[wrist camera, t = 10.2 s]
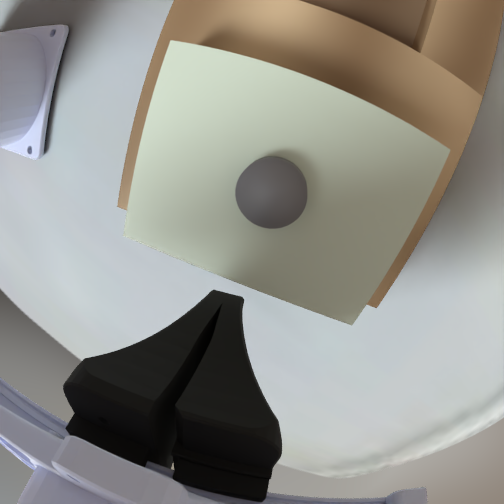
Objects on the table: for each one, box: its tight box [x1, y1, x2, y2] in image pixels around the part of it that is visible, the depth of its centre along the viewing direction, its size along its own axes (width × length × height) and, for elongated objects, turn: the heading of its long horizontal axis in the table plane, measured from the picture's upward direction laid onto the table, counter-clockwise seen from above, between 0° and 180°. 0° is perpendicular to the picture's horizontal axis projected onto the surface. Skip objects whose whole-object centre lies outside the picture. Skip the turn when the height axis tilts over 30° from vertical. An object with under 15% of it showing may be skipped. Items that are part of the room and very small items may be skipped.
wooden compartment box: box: [117, 0, 504, 308], centre depth 8 cm, size 12×18×4 cm, turn 160°
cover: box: [123, 40, 450, 325], centre depth 9 cm, size 9×7×2 cm
